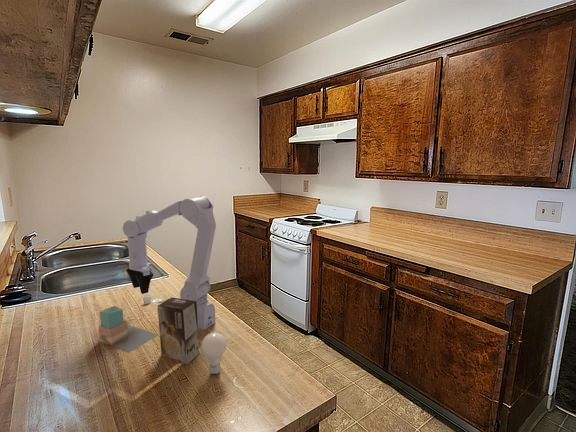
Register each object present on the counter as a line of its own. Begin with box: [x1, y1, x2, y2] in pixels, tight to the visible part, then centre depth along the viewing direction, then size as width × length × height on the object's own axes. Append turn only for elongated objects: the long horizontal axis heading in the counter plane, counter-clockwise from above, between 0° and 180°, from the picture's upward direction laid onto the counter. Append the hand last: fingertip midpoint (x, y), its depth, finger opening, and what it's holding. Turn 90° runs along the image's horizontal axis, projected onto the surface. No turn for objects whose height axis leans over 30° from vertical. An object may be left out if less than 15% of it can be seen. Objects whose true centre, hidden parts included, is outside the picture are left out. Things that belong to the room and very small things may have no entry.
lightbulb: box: [200, 332, 227, 375], centre depth 84 cm, size 6×6×11 cm
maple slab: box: [98, 330, 128, 346], centre depth 99 cm, size 6×6×2 cm
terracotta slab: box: [98, 321, 128, 338], centre depth 99 cm, size 6×6×2 cm
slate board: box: [97, 324, 160, 353], centre depth 100 cm, size 14×11×1 cm
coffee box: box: [157, 296, 201, 365], centre depth 91 cm, size 9×6×16 cm
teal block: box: [99, 305, 124, 329], centre depth 98 cm, size 4×4×4 cm
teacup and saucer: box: [139, 293, 163, 305], centre depth 127 cm, size 9×8×4 cm
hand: (140, 290), depth 114 cm, fingers open, 7 cm apart
